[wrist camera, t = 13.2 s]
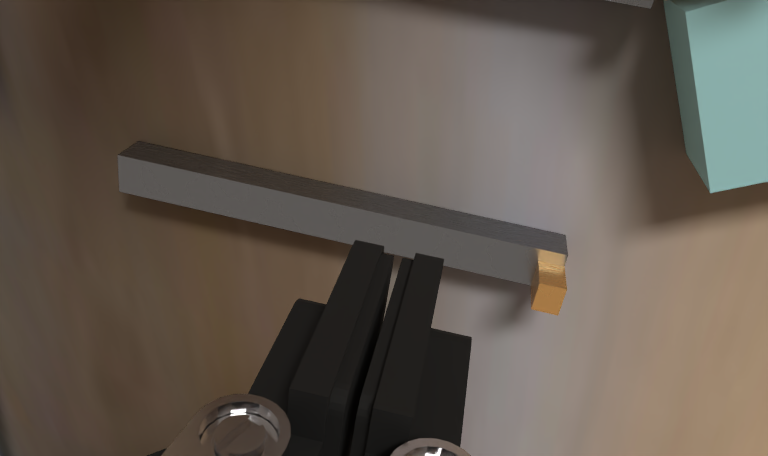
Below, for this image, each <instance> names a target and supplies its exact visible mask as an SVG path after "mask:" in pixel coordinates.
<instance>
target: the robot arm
mask: <svg viewBox="0 0 768 456" xmlns="http://www.w3.org/2000/svg"><path fill="white" fill-rule="evenodd" d="M393 260H394V256H392V255H387V254H384V246H382V245H378V244H373V243H368V242H364V241H359V240H355V242H354V243H353V246H352V248H351V250H350V252H349V255H348V257H347V259H346V261H345V264H344V266H343V268H342V270H341V273H340V275H339V277H338V280H337V282H336V284H335V286H334V289H333V291H332V293H331V295H330V298H329V300H328V302H327V304H322V303H317V302H313V301H308V300H304V299H298V300H297V301H296V302H295V304H294V306H293V308H292V309H291V311H290V313H289V315H288V317H287V319H286V321H285V323H284V325H283V327H282V329H281V331H280V333H279V335H278V337H277V339H276V341H275V342H274V344H273V346H272V348H271V350H270V352H269V354H268V356H267V358H266V360H265V362H264V364H263V366H262V368H261V370H260V372H259V373H258V375H257V377H256V379H255V381H254V383H253V385H252V387H251V389H250V391H249V393H248V394H233V395H229V396H224V397H220V398H218V399H216V400H214V401H212V402H210V403H208V404H206V405H205V406H204V407H203V408H202V409H201V410H199V411H198V412H197V413H196V414H195V415H194V417H193V418H192V419H191V420H190V421H189V423H188V424H187V425H186V426H185V427H184V429H183V430H182V431H181V432H180V433H179V435H178V436H177V437H176V438H175V439H174V441H173V442H172V443H171V444H170V445H169V447H168V448H166V449H163V450H161V451H158V452H155V453H153V454H150V455H147V456H471V455H470V454H468V453H467V452H466V451H465V450H464V449H462V448H460V444H461V434H462V425H463V416H464V407H465V397H466V388H467V379H468V370H469V360H470V351H471V340H472V339H471V337H468V336H464V335H459V334H455V333H451V332H446V331H442V330H437V329H433V328H431V324H432V319H433V314H434V309H435V304H436V299H437V294H438V289H439V284H440V279H441V274H442V269H443V263H444V259H443V258H438V257H434V256H429V255H424V254H420V253H415V257H414V260H411V259H406V258H403V259H402V262H401V265H400V268H399V271H398V275H397V278H396V281H395V285H394V288H393V291H392V295H391V298H390V301H389V304H388V308H387V311H386V314H385V318H384V313H385V307H386V302H387V296H388V290H389V284H390V278H391V272H392V266H393ZM383 319H384V321H383Z"/></svg>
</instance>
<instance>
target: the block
mask: <svg viewBox="0 0 768 456" xmlns="http://www.w3.org/2000/svg"><path fill="white" fill-rule="evenodd" d="M663 2H664V9H665V15H666V22H667V29H668V35H669V42H670V49H671V55H672V62H673V69H674V75H675V82H676V88H677V95H678V102H679V108H680V115H681V122H682V128H683V135H684V142H685V148H686V154H687V156H688V157H689V159H690V160H691V162H692V164H693V165H694V167H695V169H696V170H697V172H698V174H699V175H700V177H701V179H702V180H703V182H704V184H705V185H706V187H707V189H708V190H709V192H710V193H714V192H719V191H724V190H729V189H733V188H738V187H743V186H748V185H753V184H758V183H763V182H768V0H663Z"/></svg>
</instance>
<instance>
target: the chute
mask: <svg viewBox="0 0 768 456" xmlns="http://www.w3.org/2000/svg"><path fill="white" fill-rule="evenodd" d="M606 1H612V2H617V3H622V4H628V5H633V6H638V7H644V8H649V9H651V7H652V4H653V1H654V0H606ZM118 176H119V192H123V193H128V194H132V195H136V196H141V197H145V198H149V199H154V200H158V201H163V202H167V203H171V204H176V205H180V206H184V207H189V208H193V209H198V210H202V211H206V212H211V213H215V214H220V215H224V216H228V217H233V218H237V219H241V220H246V221H250V222H255V223H259V224H263V225H268V226H272V227H276V228H281V229H285V230H290V231H294V232H298V233H303V234H307V235H312V236H316V237H320V238H325V239H329V240H333V241H338V242H342V243H347V244H351V245H353V243H354V242H355V240H359V241H364V242H368V243H373V244H378V245H382V246H384V252H386V253H390V254H395V255H399V256H404V257H408V258H412V259H414V257H415V253H420V254H424V255H429V256H434V257H438V258H443V259H444V263H443V266H447V267H452V268H456V269H460V270H465V271H469V272H474V273H478V274H482V275H487V276H491V277H496V278H500V279H504V280H509V281H513V282H517V283H522V284H526V285H531V309H533V310H537V311H541V312H546V313H550V314H554V315H558V314H559V311H560V308H561V305H562V302H563V299H564V297H565V294H566V291H567V286H566V277H565V268H564V266H565V263H566V260H567V257H568V251H567V244H566V236H565V235H562V234H558V233H553V232H548V231H544V230H539V229H535V228H530V227H526V226H521V225H517V224H512V223H508V222H503V221H499V220H494V219H489V218H485V217H480V216H476V215H471V214H467V213H462V212H458V211H453V210H449V209H444V208H440V207H435V206H430V205H426V204H421V203H417V202H412V201H408V200H403V199H399V198H394V197H390V196H385V195H381V194H376V193H371V192H367V191H362V190H358V189H353V188H349V187H344V186H340V185H335V184H331V183H326V182H322V181H317V180H312V179H308V178H303V177H299V176H294V175H290V174H285V173H281V172H276V171H272V170H267V169H263V168H258V167H253V166H249V165H244V164H240V163H235V162H231V161H226V160H222V159H217V158H213V157H208V156H204V155H199V154H194V153H190V152H185V151H181V150H176V149H172V148H167V147H163V146H158V145H154V144H149V143H145V142H140V141H138V142H136V143H135V144H133V145H132V146H130V147H129V148H127V149H126V150H124V151H123V152H121V153H120V154H118Z"/></svg>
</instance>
